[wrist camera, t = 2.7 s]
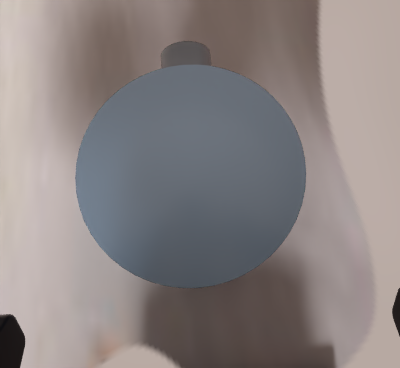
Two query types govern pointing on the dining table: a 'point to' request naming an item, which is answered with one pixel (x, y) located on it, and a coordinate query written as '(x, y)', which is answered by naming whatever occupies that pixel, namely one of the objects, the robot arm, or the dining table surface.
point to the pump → (190, 173)
